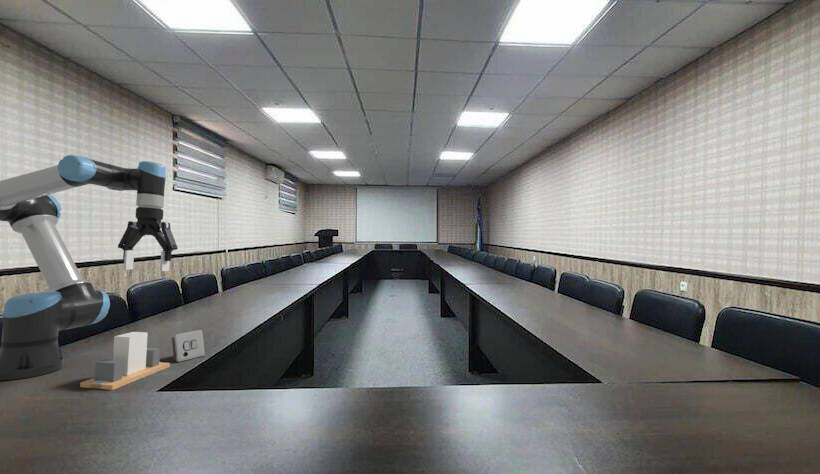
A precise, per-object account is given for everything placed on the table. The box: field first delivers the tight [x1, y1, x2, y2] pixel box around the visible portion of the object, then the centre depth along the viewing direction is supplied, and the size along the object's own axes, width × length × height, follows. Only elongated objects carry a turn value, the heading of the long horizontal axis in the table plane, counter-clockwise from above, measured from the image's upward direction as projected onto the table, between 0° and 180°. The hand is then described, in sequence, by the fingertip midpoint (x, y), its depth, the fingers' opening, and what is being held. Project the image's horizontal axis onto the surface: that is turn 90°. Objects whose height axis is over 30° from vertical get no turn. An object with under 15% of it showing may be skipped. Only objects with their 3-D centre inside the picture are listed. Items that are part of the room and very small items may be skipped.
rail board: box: [79, 347, 171, 391], centre depth 103 cm, size 10×19×6 cm, turn 173°
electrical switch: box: [171, 329, 206, 363], centre depth 121 cm, size 9×5×9 cm, turn 152°
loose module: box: [112, 331, 149, 376], centre depth 103 cm, size 5×6×11 cm
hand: (146, 270), depth 117 cm, fingers open, 13 cm apart
